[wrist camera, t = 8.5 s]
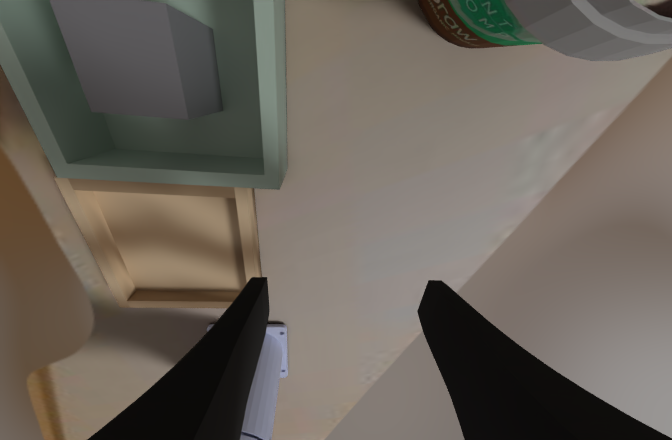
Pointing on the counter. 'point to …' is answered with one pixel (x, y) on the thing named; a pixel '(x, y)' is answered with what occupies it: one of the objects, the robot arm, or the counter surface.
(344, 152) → the counter surface
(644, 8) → the food container
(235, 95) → the green bin
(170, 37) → the stone block
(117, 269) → the oak tray
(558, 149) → the counter surface
